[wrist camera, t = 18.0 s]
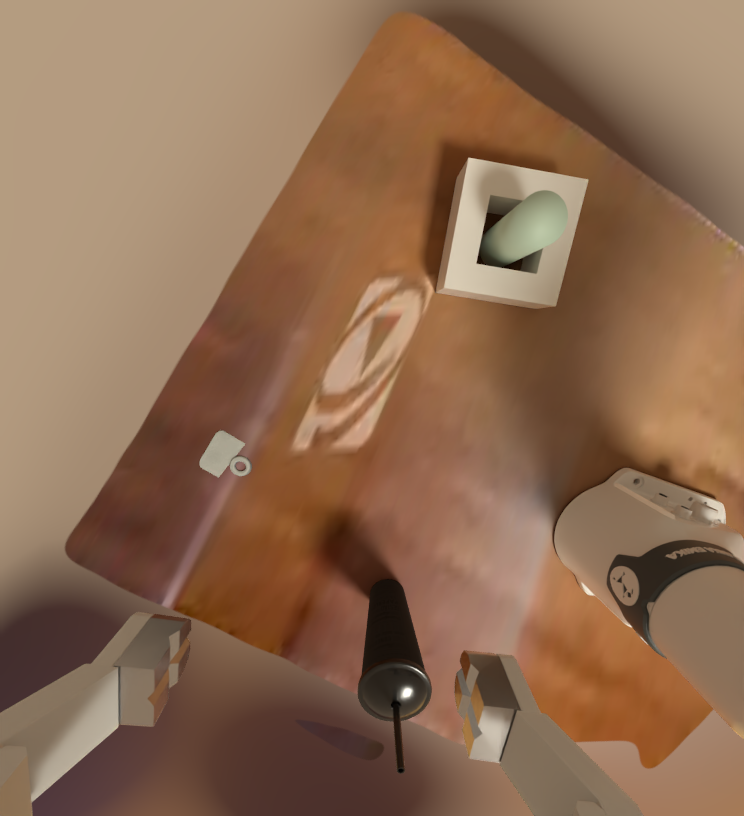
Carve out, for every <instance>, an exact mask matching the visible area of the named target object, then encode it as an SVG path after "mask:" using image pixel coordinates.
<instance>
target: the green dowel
mask: <svg viewBox="0 0 744 816" xmlns="http://www.w3.org/2000/svg"><path fill="white" fill-rule="evenodd" d="M567 221H568V211H567V207H566V204H565V202H564V200H563V199H562V198H561V197H560V196H559V195H558V194H556V193H555V192H552V191H548V190H541V191H537V192H534V193H532V194H531V195H529V196H528V197H527V198H526V199H524V200H523V201H522V202H521V203H520V204H519V205H517V206H516V207H515V208H514V209H513V210H511V211H510V212H509V213H508V214H507V215H506V216H504V217H503V218H502V219H501V220H500V221H498V222H497V223H496V224H495V225H494V226H493V227H491V228H490V229H489V230H488V231H487V232H486V233H485V234H484V235H483V236H482V238H481V243H480V248H479V253H480V257H481V259H482V260H483V262H484V263H485V264H486V265H488V266H493V267H499V268H501V267H504V266H506V265H508V264H510V263H513V262H515V261H517V260H519V259H521V258H523V257H525V256H527V255H529V254H531V253H534V252H536V251H538V250H540V249H542V248H544V247H546V246H548V245H550V244H552V243H554V242H555V241H556V240H558V239H559V238H560V236H561V235H562V234H563V232H564V230H565V228H566V225H567Z"/></svg>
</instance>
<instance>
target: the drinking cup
mask: <svg viewBox="0 0 744 816" xmlns="http://www.w3.org/2000/svg"><path fill="white" fill-rule="evenodd" d="M431 693H432V687H431V682H430V679H429V677H428V675H427V673H426V672H425V669H424V665H423V661H422V657H421V653H420V650H419V646H418V642H417V638H416V635H415V631H414V627H413V623H412V619H411V616H410V612H409V608H408V604H407V601H406V597H405V593H404V590H403V587H402V586H401V585H400V584H399V583H398V582H396V581H394V580H389V579H386V580H381V581H379V582H377V583H376V584H375V585H374V586H373V587H372V589H371V592H370V601H369V611H368V620H367V629H366V639H365V648H364V657H363V667H362V676H361V678H360V680H359V683H358V698H359V701H360V703H361V705H362V707H363V708H364V710H365V711H366V712H367V713H369V714H370V715H372V716H373V717H375V718H378V719H380V720H384V721H393V722H394V736H395V749H396V763H397V772H398V773H404V772H405V768H404V767H405V766H404V756H403V744H402V732H401V721H403V720H407V719H410V718H412V717H414V716H416V715H418V714H419V713H420V712H422V711H423V710H424V709H425V707H426V706H427V705H428V703H429V701H430V698H431Z"/></svg>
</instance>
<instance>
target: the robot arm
mask: <svg viewBox="0 0 744 816" xmlns="http://www.w3.org/2000/svg"><path fill="white" fill-rule="evenodd" d="M635 479H636V480H635ZM634 480H635V481H634ZM725 524H726V514H725V509H724V505H723V504H722V503H721V502H719V501H718V500H716V499H714V498H712V497H709V496H706V495H703V494H701V493H698V492H695V491H692V490H689V489H687V488H684V487H681V486H678V485H675V484H673V483H670V482H667V481H664V480H661V479H659V478H656V477H653V476H650V475H647V474H645V473H642V472H639V471H636V470H633V469H631V468H622V469H620V470H619V471H617V472H616V473H615V474H614V475H612V476H611V477H610V478H609V479H608V480H607V481H606V482H604V483H602V484H600V485H598V486H596V487H593V488H591V489H589V490H587V491H585V492H583V493H582V494H580V495H579V496H577V497H576V498H575V499H574V500H573V501H572V502H571V503H570V504H569V505H568V506H567V507H566V508H565V510H564V511H563V512H562V514H561V516H560V518H559V520H558V522H557V525H556V529H555V535H554V543H555V548H556V552H557V554H558V556H559V558H560V560H561V561H562V563H563V564H564V565H565V566H566V567H567V568H568V569H569V570H571V571H572V572H573V573H574V575H575V576H576V579H577V582H578V584H579V586H580V588H581V589H582V590H583V591H584V592H585V593H586V594H588V595H595V596H596V597H597V598H598V599H599V600H600V601H601V602H602V603H603V604H604V605H605V606H607V607H608V608H609V609H610V610H611V611H612V612H613V613H614V614H615V615H616V616H617V617H618V618H619V619H620V620H621V621H622V622H623V623H625V624H626V625H627V626H629V627H633V629H634V630H635V631H636V633H637V634H638V635H639V637H640V638H641V639H642V640H643V641H644V642H645V643H646V644H648V645H649V646H650V647H651V648H652V649H653V650H654V651H655V652H657V653H658V654H659V655H661V656H663V657H664V658H666V659H668V660H669V661H670V662H671V663H672V664H673V665H674V666H675V668H676V669H677V670H678V671H679V672H680V673H681V674H682V675H683V676H684V677H685V678H686V680H687V681H688V682H689V683H690V684H691V685H692V686H693V687H694V688H695V689H696V691H697V692H698V693H699V694H700V695H701V696H702V697H703V698H704V699H705V700H706V701H707V702H708V704H709V705H710V706H711V707H712V708H713V709H714V710H715V711H716V712H717V713H718V714H719V716H720V717H721V718H722V719H723V720H724V721H725V722H726V723H727V724H728V725H729V726H730V727H731V729H732V730H733V731H734V732H736V733H737V734H738V735H739V736H740V737H742V738H743V739H744V539H743V537H742V536H741V534H740V533H739V532H737V531H736V530H734V529H732V528H731V527H729V526H727V525H725ZM190 630H191V620H190V619H186V618H179V617H172V616H166V615H158V614H150V613H143V612H137V613H135V614H134V615H133V616H131V617H130V618H129V619H128V621H127V622H126V623H125V624H124V626H123V627H122V628H121V629H120V630H119V631H118V633H117V634H116V635H115V636H114V637H113V639H112V640H111V641H110V642H109V643H108V645H107V646H106V647H105V648H104V649H103V651H102V652H101V653H100V654H99V655H98V657H97V658H96V659H95V660H94V661H93V663H92V664H84V665H82V666H81V667H79V668H77V669H75V670H74V671H72V672H70V673H69V674H67V675H65V676H63V677H62V678H60V679H58V680H56V681H55V682H53V683H51V684H50V685H48V686H46V687H44V688H43V689H41V690H39V691H37V692H36V693H34V694H32V695H31V696H29V697H27V698H25V699H24V700H22V701H20V702H18V703H17V704H15V705H13V706H12V707H10V708H8V709H6V710H5V711H3V712H1V713H0V816H33V815H32V803H31V802H33V801H34V800H35V799H36V798H37V797H38V796H40V795H41V794H42V793H43V792H44V791H45V790H46V789H47V788H49V787H50V786H51V785H52V784H53V783H54V782H55V781H57V780H58V779H59V778H60V777H61V776H63V775H64V774H65V773H66V772H67V771H68V770H69V769H71V768H72V767H73V766H74V765H75V764H76V763H78V762H79V761H80V760H81V759H82V758H83V757H84V756H85V755H87V754H88V753H89V752H90V751H91V750H92V749H94V748H95V747H96V746H97V745H98V744H99V743H100V742H101V741H103V740H104V739H105V738H106V737H107V736H109V735H110V734H111V733H112V732H113V731H114V730H115V729H117V728H118V725H119V724H122V725H136V726H151V727H153V726H154V725H155V723H156V721H157V719H158V717H159V715H160V714H161V712H162V710H163V708H164V706H165V704H166V703H167V701H168V696H169V688H170V687H172V686H173V685H174V684H176V683H177V682H178V681H179V678H180V677H181V675H182V673H183V671H184V668H185V665H186V663H187V660H188V656H189V651H190V641H189V640H188V638H187V635H188V634H189V632H190ZM460 663H461V667H462V668H461V669H460V670H459V671H458V672H457V673H456V678H455V690H454V694H455V702H456V706H457V711H458V713H459V714H460V716H461V717H462V718H463V719H464V725H463V728H462V732H463V736H464V740H465V744H466V748H467V752H468V756H469V759H475V760H483V761H490V762H497V763H500V766H501V767H502V769H503V770H504V772H505V773H506V775H507V776H508V778H509V779H510V781H511V782H512V783H513V785H514V787H515V788H516V789H517V791H518V793H519V794H520V796H521V797H522V798H523V800H524V801H525V803H526V804H527V805H528V807H529V809H530V810H531V812H532V813H533V815H534V816H643V814H642V812H641V810H640V809H639V807H638V805H637V804H636V803H635V802H634V801H633V800H632V799H631V798H630V797H629V796H628V795H627V794H626V793H625V792H624V791H623V790H622V789H621V788H620V787H619V786H618V785H617V784H616V783H615V782H614V781H613V780H612V779H611V778H610V777H609V776H608V775H607V774H606V773H605V772H604V771H603V770H602V769H601V768H600V767H599V766H598V765H597V764H596V763H595V762H594V761H593V760H592V759H591V758H590V757H589V756H588V755H587V754H586V753H585V752H584V751H583V750H582V749H581V748H580V747H579V746H578V745H577V744H576V743H575V742H574V741H573V740H572V739H571V738H570V737H569V736H568V735H567V734H566V733H565V732H564V731H563V730H562V729H561V728H560V727H559V726H558V725H557V724H556V723H555V722H554V721H553V720H552V719H551V718H550V717H549V716H548V715H547V714H544V713H541V712H540V710H539V708H538V706H537V704H536V701H535V699H534V697H533V695H532V693H531V691H530V688H529V686H528V684H527V682H526V680H525V678H524V675H523V673H522V671H521V669H520V667H519V665H518V663H517V660H516V659H515V658H514V656H512V655H502V654H494V653H484V652H475V651H465V650H464V651H463V652H462V654H461V658H460Z"/></svg>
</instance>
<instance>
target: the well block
mask: <svg viewBox="0 0 744 816" xmlns="http://www.w3.org/2000/svg"><path fill="white" fill-rule="evenodd" d="M587 184H588V179H583V178H578V177H572V176H567V175H561V174H556V173H550V172H545V171H539V170H534V169H529V168H523V167H518V166H512V165H507V164H501V163H496V162H491V161H485V160H480V159H474V158H468V159H467V161H466V163H465V164H464V166H463V168H462V170H461V171H460V173H459V175H458V177H457V178H456V184H455V189H454V195H453V200H452V206H451V211H450V216H449V222H448V227H447V233H446V238H445V244H444V249H443V254H442V260H441V265H440V271H439V276H438V281H437V287H436V292H435V293H440V294H446V295H453V296H459V297H465V298H471V299H477V300H483V301H489V302H495V303H501V304H507V305H513V306H519V307H526V308H532V309H540V308H547V307H554V306H556V304H557V300H558V296H559V292H560V288H561V285H562V281H563V277H564V273H565V269H566V265H567V261H568V258H569V254H570V250H571V246H572V242H573V238H574V234H575V231H576V227H577V223H578V219H579V215H580V211H581V207H582V203H583V200H584V196H585V192H586V188H587ZM541 190H548V191H552V192H555V193H556V194H558V195H559V196H560V197H561V198H562V199H563V200H564V202H565V204H566V207H567V211H568V221H567V225H566V228H565V230H564V232H563V234H562V235H561V236H560V238H559V239H558V240H556V241H555V242H554V243H552V244H550V245H548V246H546V247H544V248H542V249H540V250H538V251H536V252H534V253H531V254H529V255H527V256H525V257H523V261H522V265H521V270H520V271H517V270H511V269H505V268H499V267H493V266H487V265H481V264H476V262H477V257H478V253H479V248H480V243H481V238H482V233H483V228H484V223H485V219H486V214H487V213H492V214H498V215H504V216H506V215H507V214H508V213H509V212H510V211H511V210H513V209H514V208H515V207H516V206H517V205H519V204H520V203H521V202H522V201H523V200H524V199H526V198H527V197H528V196H529V195H531V194H532V193H534V192H537V191H541Z"/></svg>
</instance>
